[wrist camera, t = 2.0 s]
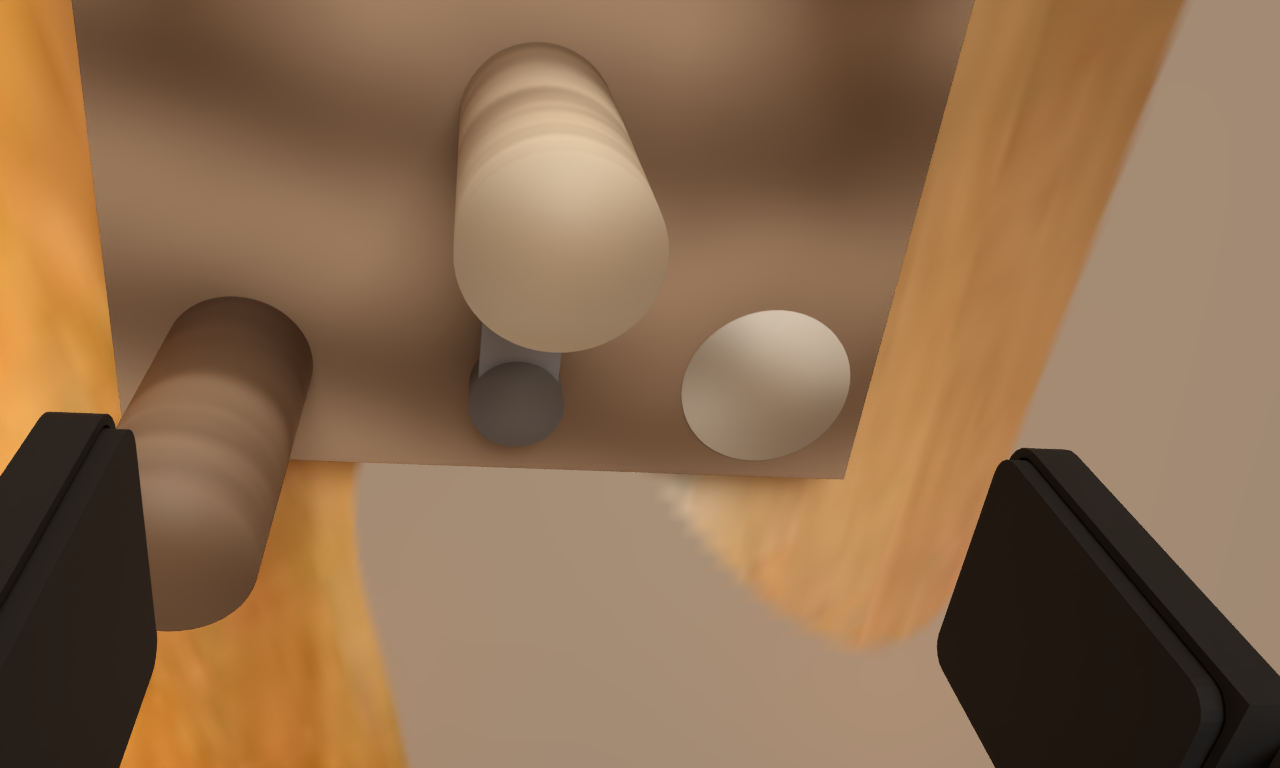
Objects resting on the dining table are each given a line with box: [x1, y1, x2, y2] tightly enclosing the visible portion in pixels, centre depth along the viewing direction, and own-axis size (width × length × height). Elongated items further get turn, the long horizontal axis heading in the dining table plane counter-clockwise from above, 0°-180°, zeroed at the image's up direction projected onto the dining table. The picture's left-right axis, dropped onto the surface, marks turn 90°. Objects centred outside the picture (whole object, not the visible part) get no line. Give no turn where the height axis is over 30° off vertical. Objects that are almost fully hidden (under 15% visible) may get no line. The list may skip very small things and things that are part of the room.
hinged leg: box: [453, 42, 669, 447], centre depth 23 cm, size 10×4×8 cm, turn 172°
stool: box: [72, 0, 975, 631], centre depth 23 cm, size 20×20×10 cm
